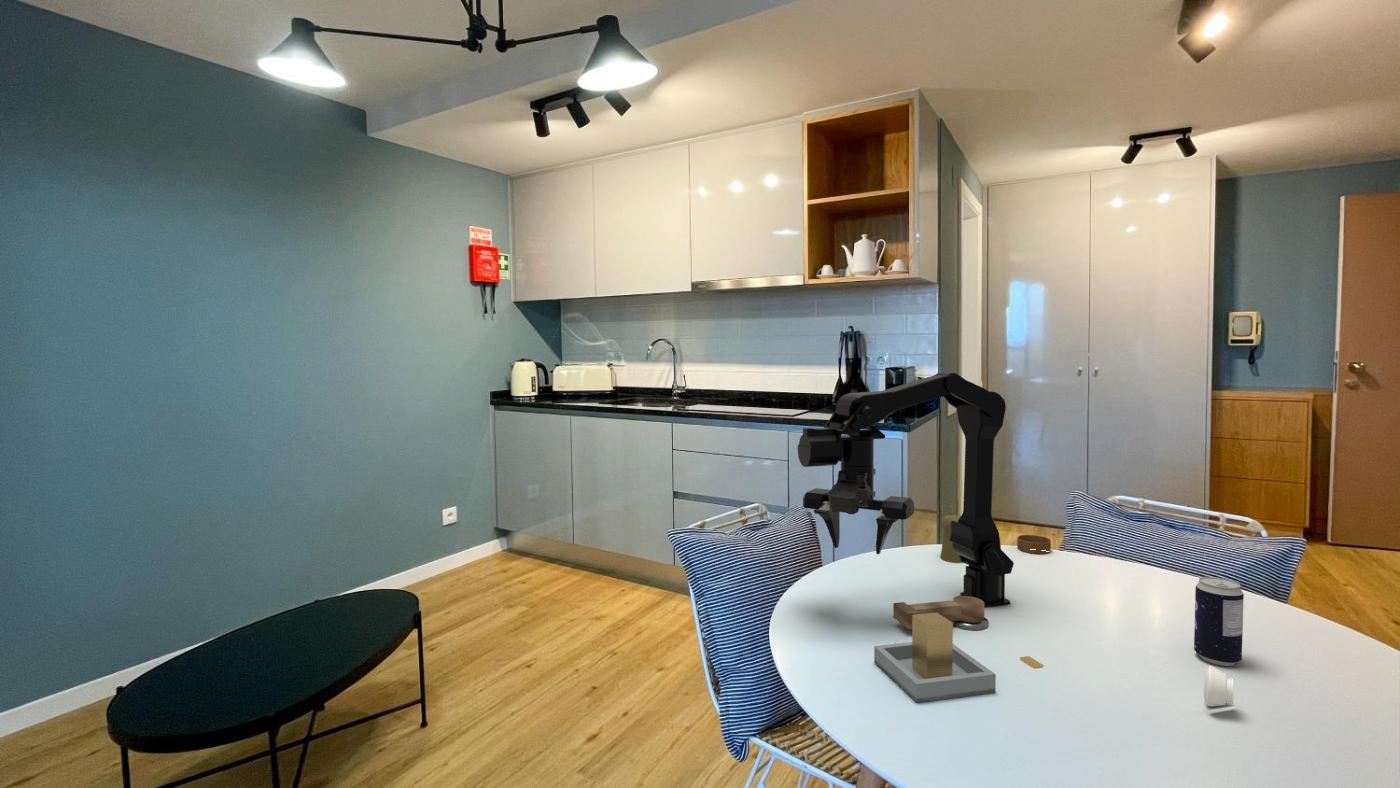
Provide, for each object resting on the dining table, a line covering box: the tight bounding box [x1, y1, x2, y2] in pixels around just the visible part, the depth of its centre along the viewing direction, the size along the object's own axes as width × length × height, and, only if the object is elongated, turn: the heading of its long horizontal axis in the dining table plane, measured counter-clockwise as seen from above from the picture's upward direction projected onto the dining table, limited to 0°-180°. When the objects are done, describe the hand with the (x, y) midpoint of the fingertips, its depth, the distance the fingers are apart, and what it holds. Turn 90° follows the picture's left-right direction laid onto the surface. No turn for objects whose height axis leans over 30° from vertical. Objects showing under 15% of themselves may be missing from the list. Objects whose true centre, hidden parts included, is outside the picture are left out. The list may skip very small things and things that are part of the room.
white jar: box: [1203, 665, 1235, 708], centre depth 85 cm, size 5×3×5 cm, turn 141°
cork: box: [940, 514, 963, 564], centre depth 146 cm, size 6×6×11 cm
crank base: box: [951, 616, 1044, 669], centre depth 106 cm, size 6×20×1 cm, turn 12°
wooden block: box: [911, 613, 954, 679], centre depth 94 cm, size 4×4×8 cm
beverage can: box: [1193, 576, 1245, 667], centre depth 98 cm, size 6×6×12 cm
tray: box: [873, 641, 997, 704], centre depth 94 cm, size 12×12×3 cm
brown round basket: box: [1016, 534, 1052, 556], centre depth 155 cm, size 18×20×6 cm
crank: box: [892, 595, 985, 630], centre depth 112 cm, size 16×5×3 cm, turn 102°
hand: (857, 550), depth 116 cm, fingers open, 7 cm apart
